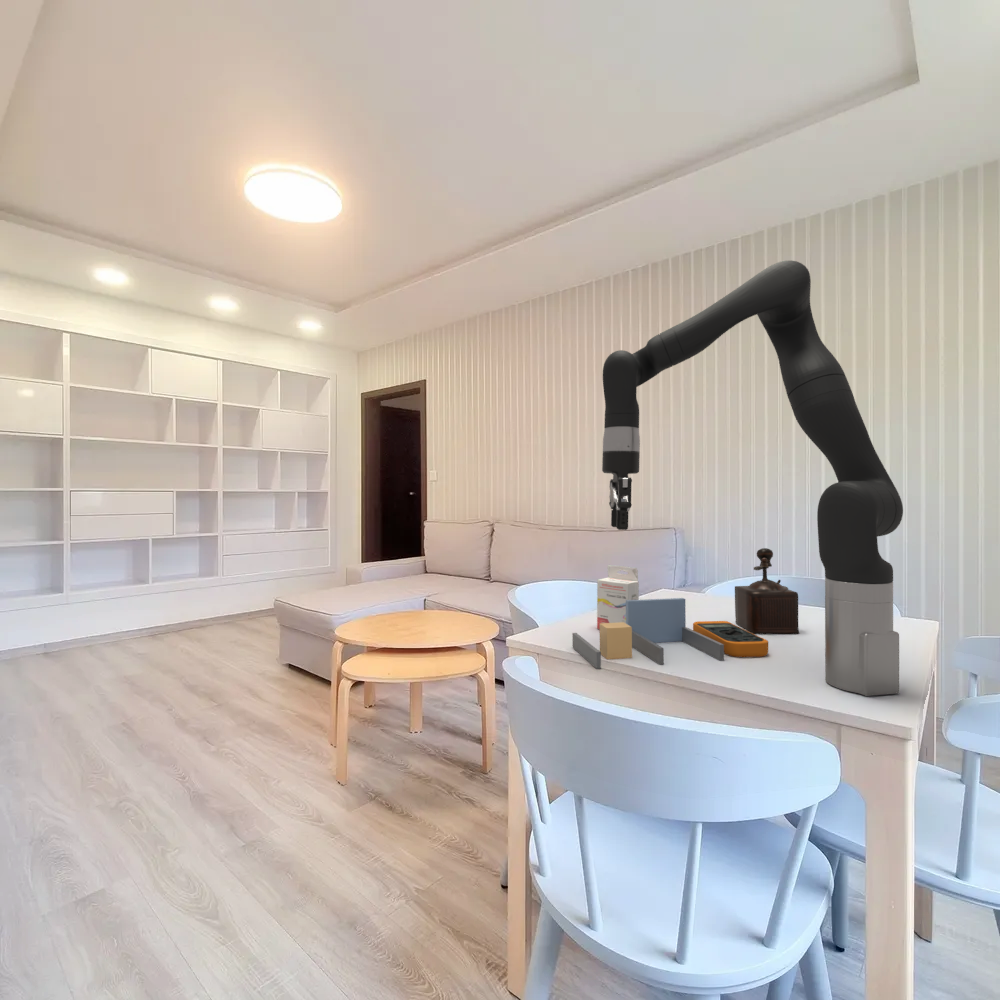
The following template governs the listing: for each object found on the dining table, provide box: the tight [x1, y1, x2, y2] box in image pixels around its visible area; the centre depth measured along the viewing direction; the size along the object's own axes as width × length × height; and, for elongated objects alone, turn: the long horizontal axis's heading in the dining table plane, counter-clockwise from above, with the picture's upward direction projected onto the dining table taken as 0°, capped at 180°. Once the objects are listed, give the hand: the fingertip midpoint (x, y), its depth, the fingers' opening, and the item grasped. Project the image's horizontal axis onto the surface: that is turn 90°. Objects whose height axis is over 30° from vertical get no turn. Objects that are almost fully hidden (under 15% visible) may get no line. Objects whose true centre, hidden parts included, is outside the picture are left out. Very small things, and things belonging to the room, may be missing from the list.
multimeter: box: [692, 620, 769, 658], centre depth 112 cm, size 9×18×3 cm, turn 4°
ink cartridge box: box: [596, 564, 640, 630], centre depth 125 cm, size 9×5×15 cm, turn 47°
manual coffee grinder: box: [734, 547, 800, 635], centre depth 128 cm, size 16×11×18 cm
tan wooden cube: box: [599, 622, 633, 660], centre depth 105 cm, size 4×5×6 cm
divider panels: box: [572, 597, 725, 670], centre depth 107 cm, size 15×25×9 cm, turn 100°
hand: (619, 528), depth 112 cm, fingers open, 8 cm apart
